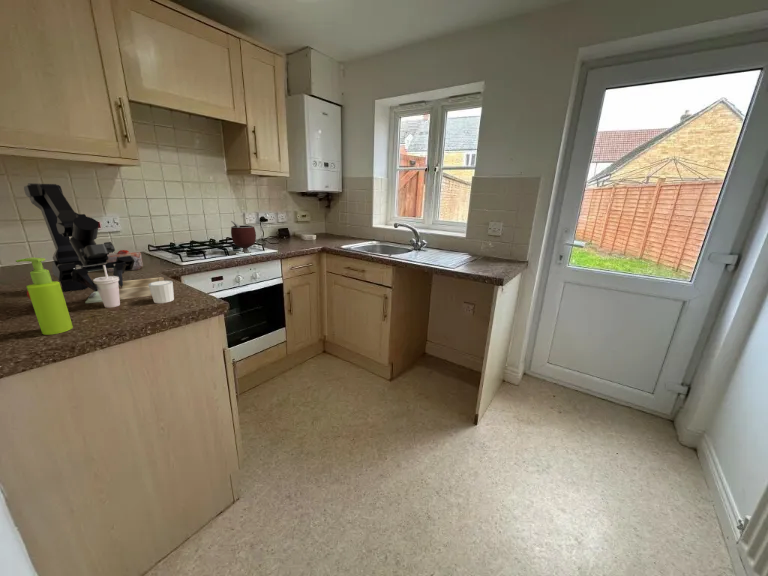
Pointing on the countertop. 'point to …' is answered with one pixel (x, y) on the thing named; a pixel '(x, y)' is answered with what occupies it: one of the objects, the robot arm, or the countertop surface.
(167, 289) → the white ramekin
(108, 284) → the smoothie
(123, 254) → the food item
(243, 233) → the mate gourd
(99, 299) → the pale green flat block
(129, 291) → the wooden serving board
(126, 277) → the countertop surface
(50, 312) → the soap dispenser
